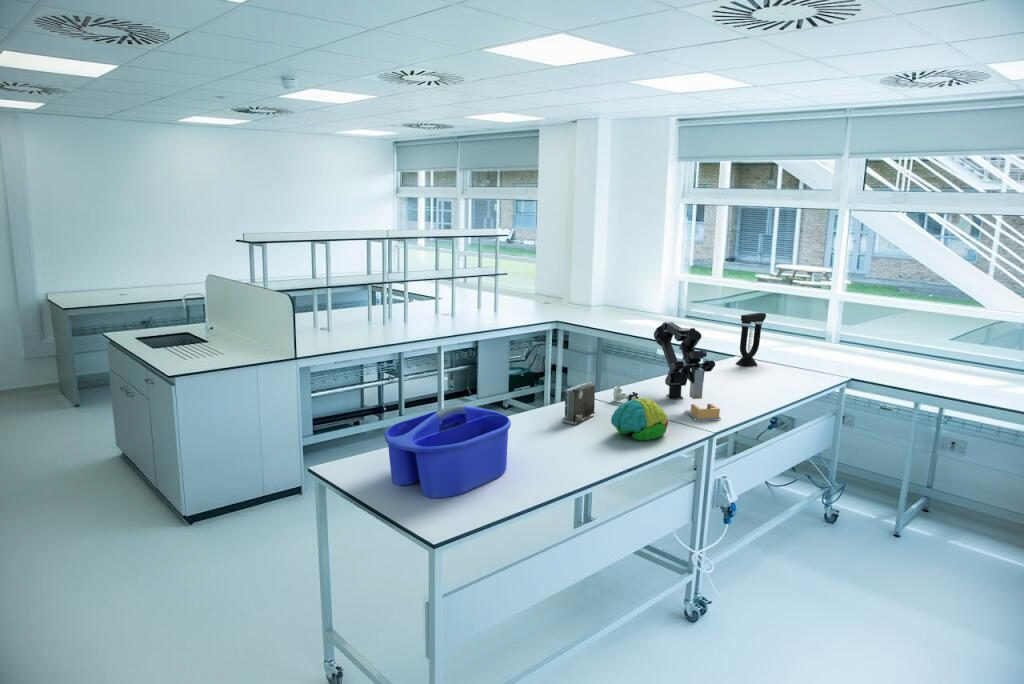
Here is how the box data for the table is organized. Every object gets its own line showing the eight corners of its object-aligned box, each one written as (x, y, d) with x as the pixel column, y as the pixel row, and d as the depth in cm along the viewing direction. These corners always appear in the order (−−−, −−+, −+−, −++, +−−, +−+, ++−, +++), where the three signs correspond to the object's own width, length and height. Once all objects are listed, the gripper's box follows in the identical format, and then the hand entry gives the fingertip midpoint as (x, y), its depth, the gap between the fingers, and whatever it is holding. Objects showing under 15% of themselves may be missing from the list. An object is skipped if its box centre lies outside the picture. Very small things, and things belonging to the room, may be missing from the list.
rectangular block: (689, 396, 287) (691, 367, 284) (697, 396, 287) (699, 367, 285) (693, 398, 283) (695, 370, 280) (701, 398, 283) (703, 369, 281)
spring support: (748, 368, 368) (752, 316, 362) (728, 364, 377) (732, 314, 372) (767, 363, 381) (771, 313, 375) (748, 360, 390) (751, 311, 385)
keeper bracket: (684, 412, 284) (685, 397, 283) (707, 411, 286) (709, 396, 284) (696, 421, 272) (697, 405, 271) (720, 419, 274) (722, 404, 273)
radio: (586, 409, 288) (587, 377, 285) (603, 413, 282) (604, 380, 280) (557, 422, 269) (558, 387, 267) (575, 426, 264) (576, 391, 261)
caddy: (365, 482, 207) (363, 412, 202) (462, 446, 241) (461, 385, 236) (434, 511, 187) (433, 434, 183) (529, 466, 221) (530, 400, 217)
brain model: (634, 447, 239) (637, 408, 237) (599, 433, 254) (602, 396, 252) (677, 438, 253) (680, 401, 250) (641, 426, 268) (644, 390, 266)
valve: (609, 401, 300) (629, 407, 291) (609, 387, 299) (629, 393, 290) (619, 399, 304) (638, 405, 295) (619, 385, 303) (639, 391, 294)
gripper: (675, 343, 283) (684, 374, 274) (715, 342, 286) (725, 372, 277) (667, 357, 292) (675, 387, 283) (705, 355, 295) (715, 385, 286)
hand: (697, 382), depth 282 cm, fingers closed on rectangular block, 4 cm apart
